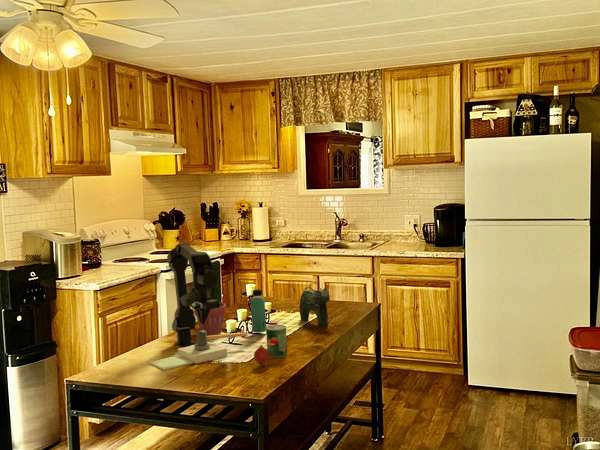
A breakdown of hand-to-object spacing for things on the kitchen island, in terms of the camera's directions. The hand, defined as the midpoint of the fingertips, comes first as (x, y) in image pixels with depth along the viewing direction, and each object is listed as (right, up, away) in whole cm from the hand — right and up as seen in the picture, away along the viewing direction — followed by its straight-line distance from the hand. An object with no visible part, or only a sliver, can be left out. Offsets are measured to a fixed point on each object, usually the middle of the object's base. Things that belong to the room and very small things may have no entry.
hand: (202, 323), depth 259 cm
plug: (0, -13, +1) cm, 13 cm away
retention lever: (+7, -7, +9) cm, 13 cm away
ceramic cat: (+45, -7, +50) cm, 68 cm away
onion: (+25, -14, -15) cm, 32 cm away
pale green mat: (-11, -14, -8) cm, 20 cm away
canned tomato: (+30, -12, -1) cm, 32 cm away
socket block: (0, -13, +1) cm, 13 cm away
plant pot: (-2, -10, +38) cm, 39 cm away
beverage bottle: (+20, -10, +33) cm, 40 cm away
